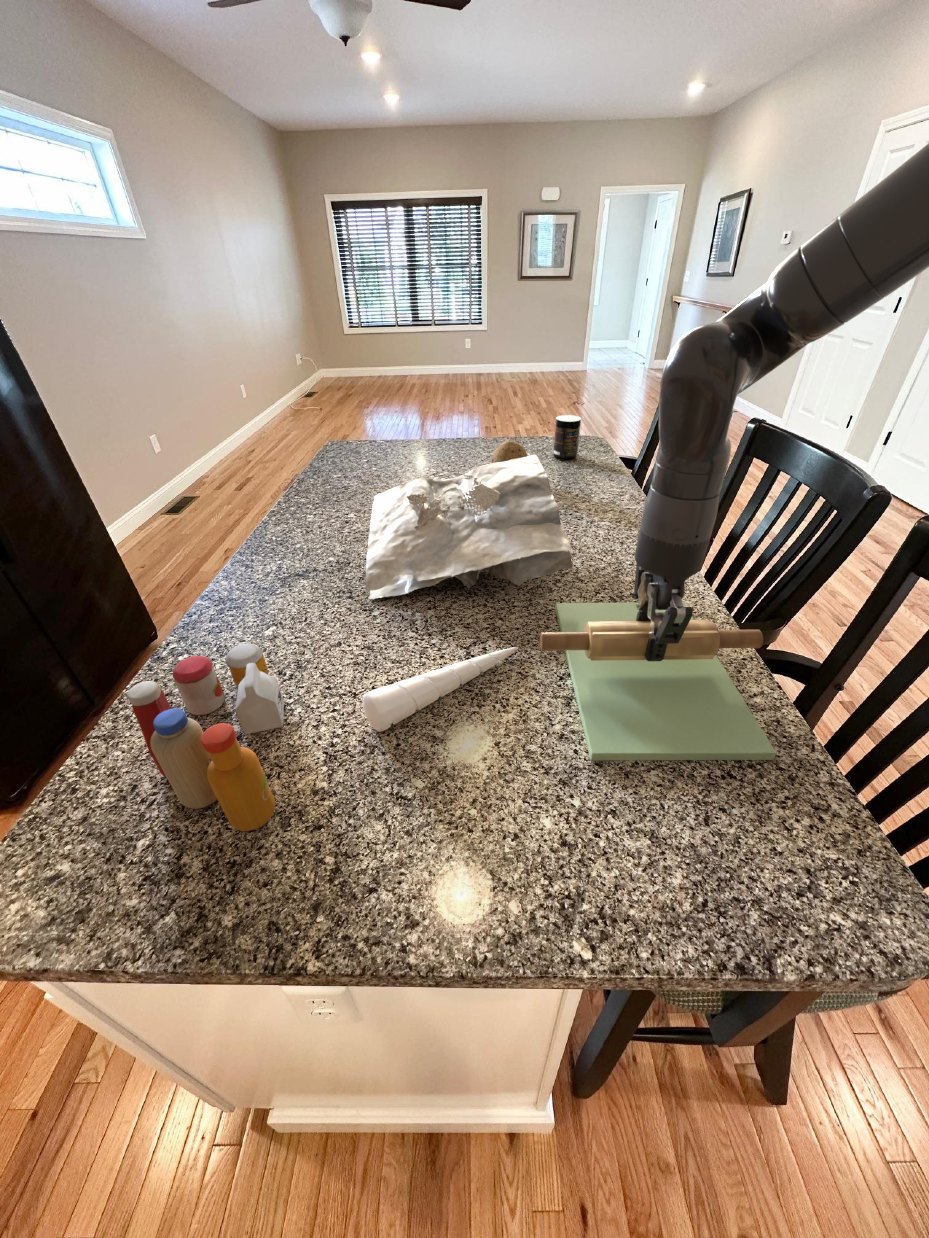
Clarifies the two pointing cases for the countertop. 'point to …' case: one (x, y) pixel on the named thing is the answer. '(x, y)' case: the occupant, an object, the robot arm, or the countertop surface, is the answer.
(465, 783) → the countertop surface
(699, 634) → the rolling pin
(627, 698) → the pastry board
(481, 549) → the white terrain model
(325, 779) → the countertop surface
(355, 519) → the countertop surface
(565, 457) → the supplement container
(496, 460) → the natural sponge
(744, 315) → the robot arm
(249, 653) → the toy food
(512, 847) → the countertop surface
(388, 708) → the unicorn horn
